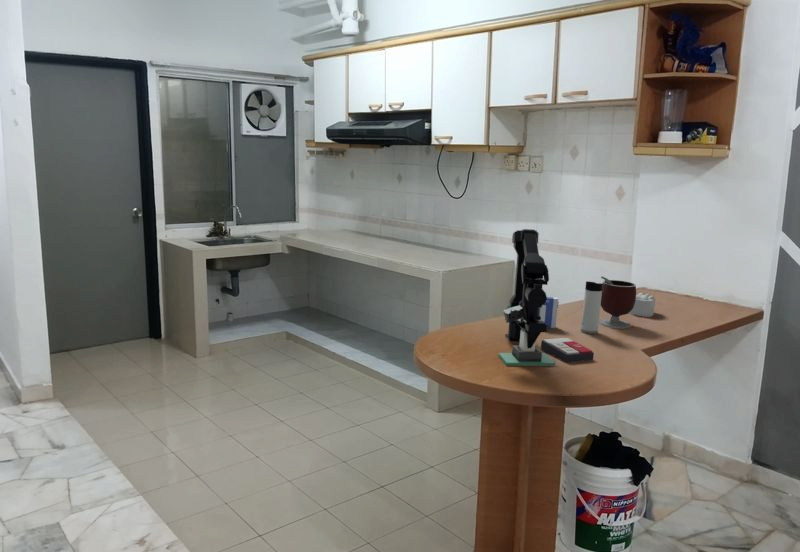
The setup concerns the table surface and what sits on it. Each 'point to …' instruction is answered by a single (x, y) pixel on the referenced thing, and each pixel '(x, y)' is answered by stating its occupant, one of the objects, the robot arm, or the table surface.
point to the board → (526, 358)
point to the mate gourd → (617, 301)
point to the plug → (525, 343)
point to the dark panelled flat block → (566, 350)
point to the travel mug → (591, 307)
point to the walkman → (549, 312)
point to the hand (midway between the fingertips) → (527, 346)
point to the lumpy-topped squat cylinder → (643, 305)
